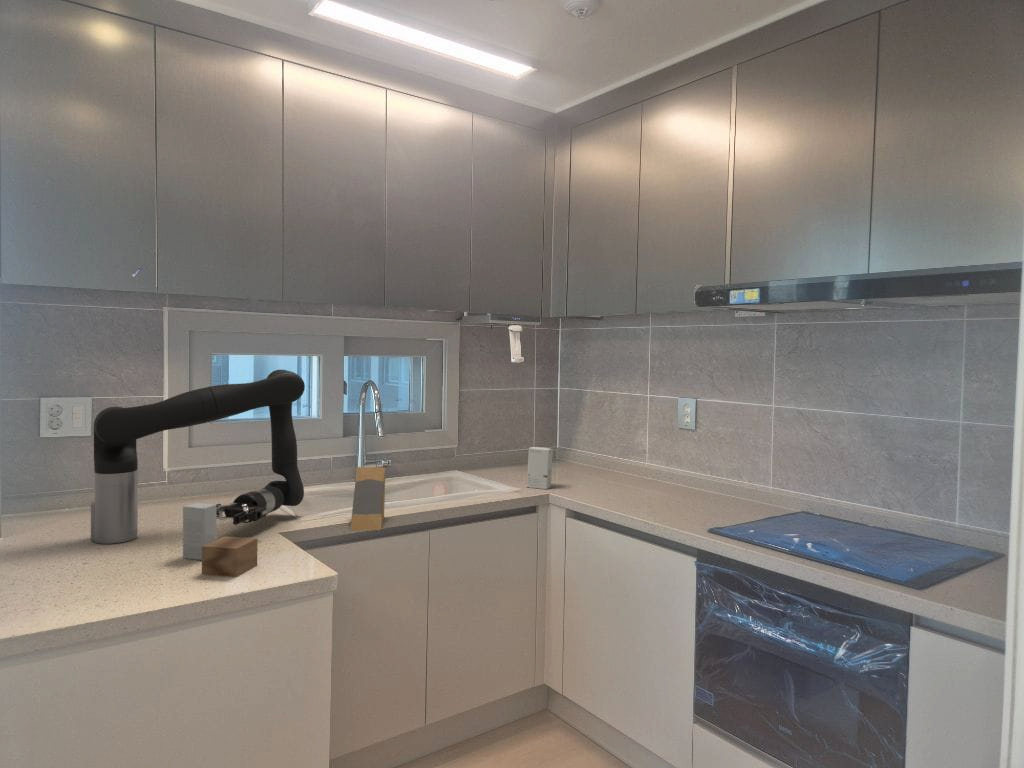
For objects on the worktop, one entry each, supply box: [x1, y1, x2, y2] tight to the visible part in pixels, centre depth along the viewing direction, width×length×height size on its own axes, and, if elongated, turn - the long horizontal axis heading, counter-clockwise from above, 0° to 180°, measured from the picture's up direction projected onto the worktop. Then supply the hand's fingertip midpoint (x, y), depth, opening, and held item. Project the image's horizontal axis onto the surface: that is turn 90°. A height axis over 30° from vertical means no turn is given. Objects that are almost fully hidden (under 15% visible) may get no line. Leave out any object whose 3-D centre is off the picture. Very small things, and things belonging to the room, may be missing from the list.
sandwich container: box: [349, 466, 386, 531], centre depth 181 cm, size 9×15×15 cm, turn 8°
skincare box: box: [182, 502, 218, 561], centre depth 148 cm, size 6×4×12 cm
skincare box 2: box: [526, 446, 554, 490], centre depth 239 cm, size 8×6×15 cm
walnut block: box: [201, 535, 258, 578], centre depth 139 cm, size 8×8×6 cm
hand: (218, 519), depth 154 cm, fingers open, 8 cm apart
